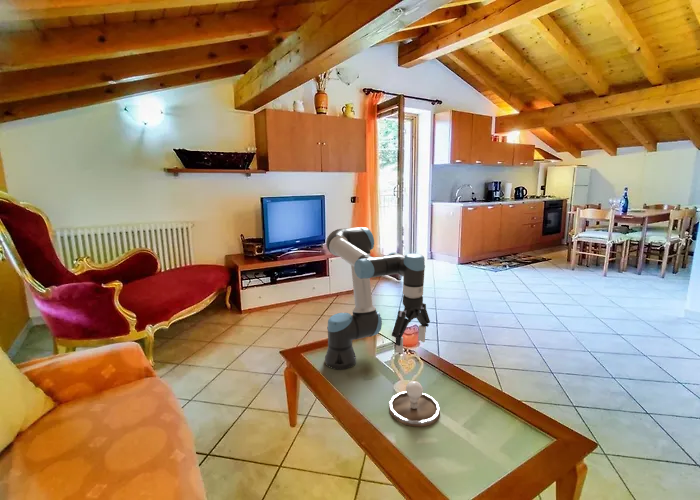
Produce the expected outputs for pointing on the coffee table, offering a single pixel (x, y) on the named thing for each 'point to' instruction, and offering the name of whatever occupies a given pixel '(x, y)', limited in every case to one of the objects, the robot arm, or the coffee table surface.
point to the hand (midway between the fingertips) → (410, 346)
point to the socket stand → (414, 410)
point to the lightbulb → (414, 393)
